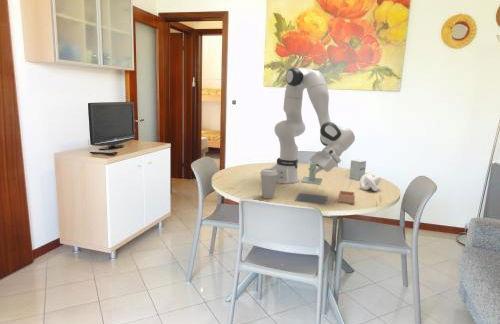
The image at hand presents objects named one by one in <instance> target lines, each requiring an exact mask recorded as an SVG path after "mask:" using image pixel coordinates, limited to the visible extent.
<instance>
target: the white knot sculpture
mask: <svg viewBox="0 0 500 324" xmlns="http://www.w3.org/2000/svg"><path fill="white" fill-rule="evenodd" d="M381 178H382V177H381V176H379V175H376V176H373V175H372V174H370V173H365V175H363V176H362V177H361V179H360V180H359V187H360V188H361V189H362V190H363V191H368V190H370V189H371V190H372V191H373V192H377V191H378V190H379V187H378V185H379V184H380V182H381V180H382V179H381Z"/></svg>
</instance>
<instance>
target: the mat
mask: <svg viewBox="0 0 500 324" xmlns="http://www.w3.org/2000/svg"><path fill="white" fill-rule="evenodd" d="M328 197H329V196H328V195H320V194H314V193H313V194H311V193H303V192H298V194H297V196H296V197H295V199H294V202H300V203H308V204H314V205H315V204H316V205H326V204H327V200H328Z"/></svg>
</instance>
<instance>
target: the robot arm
mask: <svg viewBox="0 0 500 324" xmlns="http://www.w3.org/2000/svg"><path fill="white" fill-rule="evenodd" d="M285 81H286V83H287V84H286V87H285V91H284V99H283V100H284V101H283V111H284V113H285V115H286V116H285V117H286V119H285V120H281V121H279V122H277V123H276V124H275V126H274V133H275V135H276V137H277V138H278V141H279V151H280V152H279V153H280V154H279V157H278V158H277V159H276V164H274V165H273V166H272V167H270V168H269V169H275V170H276V171H277V173H278V175H277V178H276V184H277V183H279V184H284V185H285V184H293V183H294V184H295V183H298V182H299V181H300V180H299V175H298V167H299V160H298V155H299V154H298V153H299V146H298V145H297V144H296V141H295V140H296V137H300V135H303V134H304V132H305V131H306V125H305V123H304V121H303V116H302V108H303V106H302V105H303V95H304V90H305V89H306V90H307V95H308V98H309V100H310V104H312V107H313V108H314V110H315V113H316V116H317V119H318V120H317V121H318V123H319V127H320V129H319V133H320V135H319V138H320V139H319V141H320V143H321V144H322V145H323V146H324V148H322V150H320V151H316V152H315V153H314V154H313V155H312V156H311V157H310V158H309V161H310V163H316V169H314V170H313V171H312V172H313V173H314V174H316V175H317V174H318V173H319V172H321V171H322V170H323V171H325V172H327V173H328V172H330V171H332V170H333V169H334V168H335V167H337V164H340V163H341V162H342V160H341V158H340V157H341V156H342V155H343V153H344V152H346V151H347V150H348V149H350V147H351V146H352V145H353V143H354V142H355V141H356V139H355V138H356V136H355V134H354V132H353V130H351V129H350V128H348V127H342V126H340V125H337V124H336V123H334V122H331V121H332V120H331V118H330V113H329V102H330V101H329V99H330V96H329V89H328V86H327V85H328V84H327V83H326V80H325V78H324V75H323V73H322V72H321V71H319V70H318V69H316V68H315V69H314V68H310V67H290V68H289V69H288V70H287V72H286V74H285ZM308 170H309V171H308V172H310V167H309V168H308Z"/></svg>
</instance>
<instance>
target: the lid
mask: <svg viewBox="0 0 500 324" xmlns="http://www.w3.org/2000/svg"><path fill="white" fill-rule="evenodd" d="M309 168H310V171H308V173H309V175H308V176H303V177H302V178H301V181H300V183H301V184H308V185H310V184H311V185H317V186H321V184H322V183H323V178H321V177H320V178H319V177H316V175H317V173H316V174H314V173H313V172H312V171H313V170H314V169H317V166H316V163H312V162H310V163H309Z"/></svg>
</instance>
